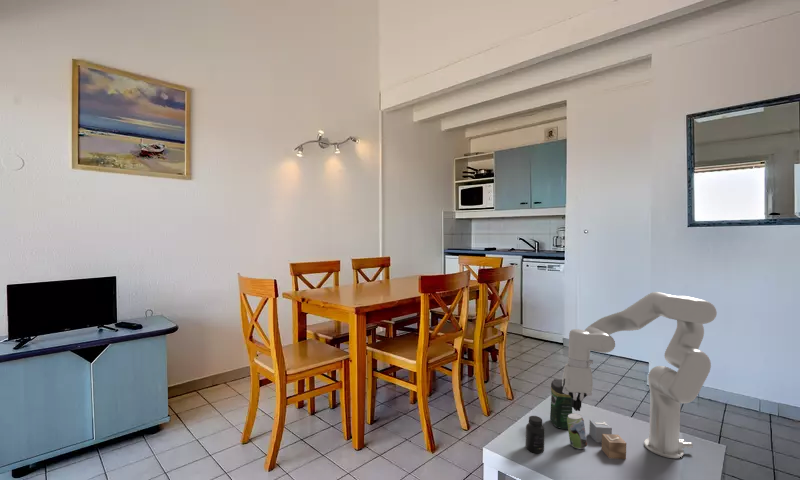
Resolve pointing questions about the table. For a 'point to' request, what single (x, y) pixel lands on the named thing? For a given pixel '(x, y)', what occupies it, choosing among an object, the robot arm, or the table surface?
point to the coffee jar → (559, 405)
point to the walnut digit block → (614, 446)
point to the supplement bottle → (535, 435)
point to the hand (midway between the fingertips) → (576, 409)
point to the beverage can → (576, 431)
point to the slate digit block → (599, 429)
